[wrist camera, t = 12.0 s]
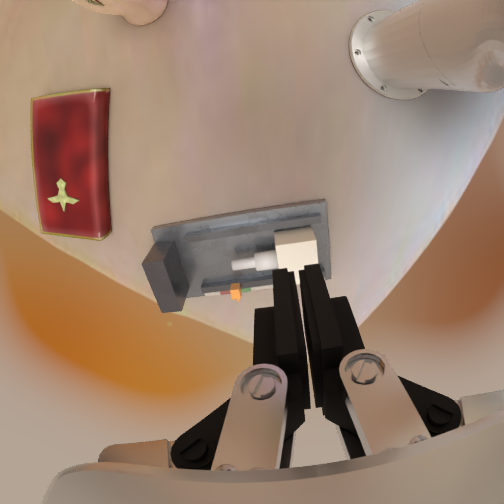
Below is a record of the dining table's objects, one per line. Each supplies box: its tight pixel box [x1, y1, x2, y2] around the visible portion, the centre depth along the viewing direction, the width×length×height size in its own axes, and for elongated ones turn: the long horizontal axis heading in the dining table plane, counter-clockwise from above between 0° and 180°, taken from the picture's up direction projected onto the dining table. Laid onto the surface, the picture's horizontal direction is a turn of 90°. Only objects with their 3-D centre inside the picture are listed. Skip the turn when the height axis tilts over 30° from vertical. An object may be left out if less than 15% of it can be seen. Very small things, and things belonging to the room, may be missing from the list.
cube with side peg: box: [231, 227, 318, 284], centre depth 40 cm, size 11×8×4 cm
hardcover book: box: [31, 88, 112, 241], centre depth 35 cm, size 12×21×4 cm, turn 173°
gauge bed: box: [142, 199, 331, 313], centre depth 40 cm, size 24×12×7 cm, turn 100°
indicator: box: [230, 283, 242, 302], centre depth 42 cm, size 1×3×2 cm, turn 10°
